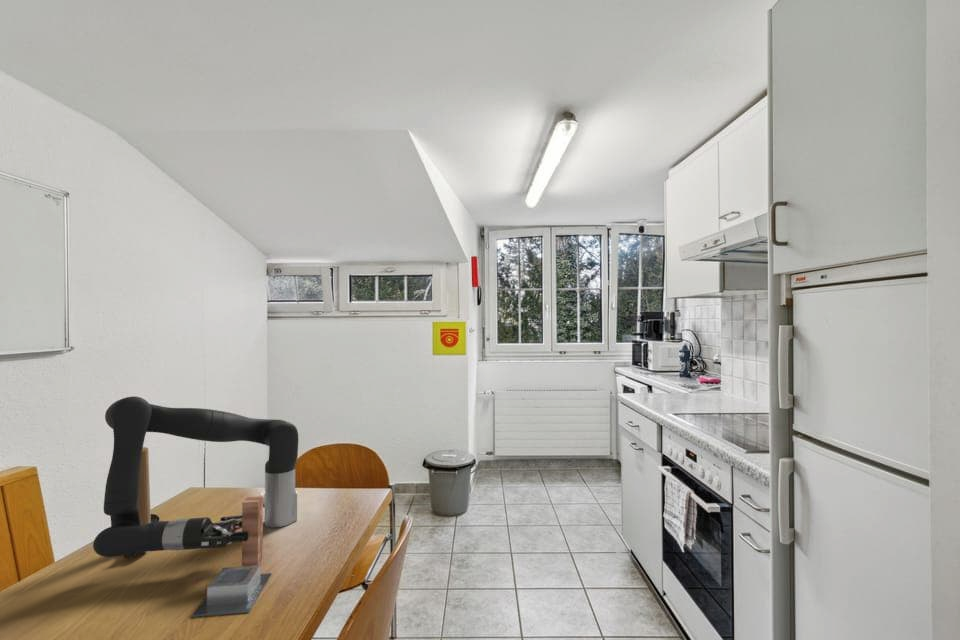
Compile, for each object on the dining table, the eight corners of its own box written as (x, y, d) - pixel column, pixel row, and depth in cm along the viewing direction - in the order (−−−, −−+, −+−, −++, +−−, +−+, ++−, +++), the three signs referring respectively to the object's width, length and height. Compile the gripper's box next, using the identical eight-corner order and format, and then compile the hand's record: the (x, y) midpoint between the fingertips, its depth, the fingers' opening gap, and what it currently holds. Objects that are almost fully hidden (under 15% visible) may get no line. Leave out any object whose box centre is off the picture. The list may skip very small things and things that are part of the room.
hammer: (144, 565, 128) (140, 464, 123) (121, 569, 126) (117, 467, 121) (160, 524, 146) (157, 435, 141) (141, 527, 144) (137, 437, 139)
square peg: (246, 563, 124) (247, 497, 125) (262, 562, 125) (262, 496, 125) (241, 571, 120) (242, 502, 121) (257, 570, 121) (258, 501, 121)
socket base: (222, 580, 117) (222, 561, 117) (271, 577, 119) (271, 557, 119) (191, 620, 101) (192, 597, 101) (249, 615, 103) (249, 592, 103)
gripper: (174, 531, 113) (244, 526, 116) (199, 509, 127) (261, 505, 130) (174, 561, 113) (244, 556, 116) (199, 536, 127) (261, 531, 130)
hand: (253, 529), depth 123 cm, fingers open, 8 cm apart
